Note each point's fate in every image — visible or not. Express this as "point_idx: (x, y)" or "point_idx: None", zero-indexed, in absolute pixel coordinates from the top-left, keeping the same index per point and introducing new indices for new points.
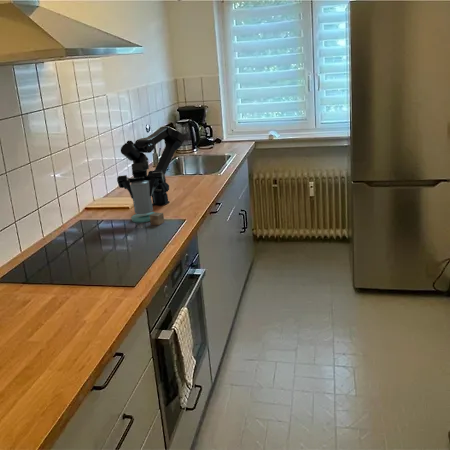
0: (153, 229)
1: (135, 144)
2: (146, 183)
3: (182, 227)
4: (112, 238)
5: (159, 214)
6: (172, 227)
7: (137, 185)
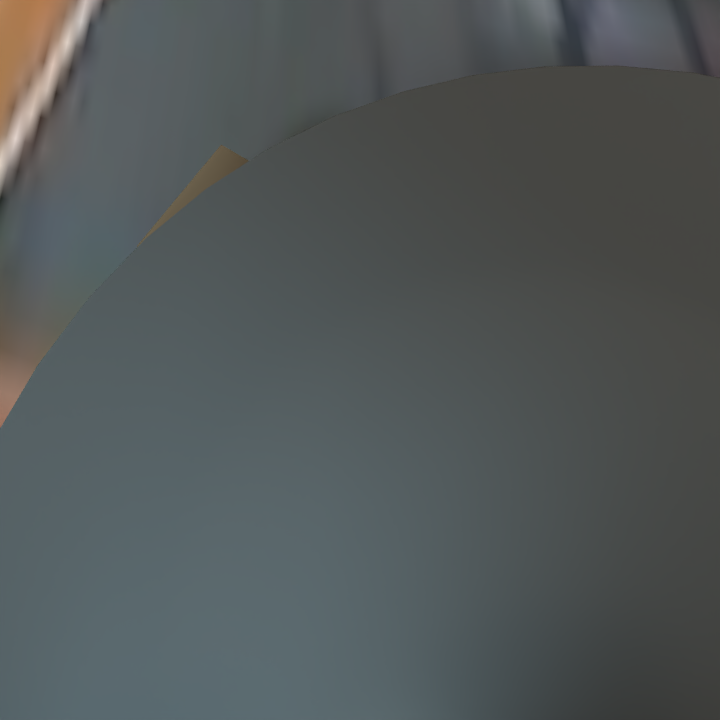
0: (311, 121)
1: None
2: (150, 254)
3: (29, 84)
4: (698, 12)
5: (193, 197)
6: (121, 115)
7: (689, 107)
